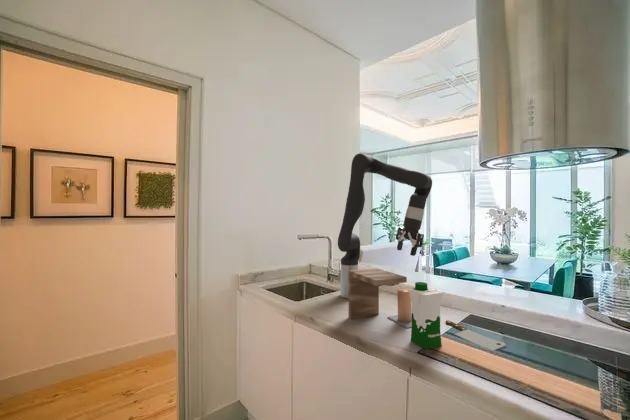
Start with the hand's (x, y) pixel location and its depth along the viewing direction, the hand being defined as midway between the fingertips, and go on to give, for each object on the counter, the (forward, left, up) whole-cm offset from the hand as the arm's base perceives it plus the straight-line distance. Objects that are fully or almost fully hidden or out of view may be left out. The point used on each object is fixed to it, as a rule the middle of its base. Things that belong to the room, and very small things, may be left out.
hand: (405, 252), depth 133 cm
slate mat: (+9, -9, -26) cm, 29 cm away
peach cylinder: (+9, -8, -26) cm, 29 cm away
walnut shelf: (+6, -21, -26) cm, 34 cm away
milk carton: (+28, -16, -27) cm, 42 cm away
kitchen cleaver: (+29, +4, -27) cm, 40 cm away
